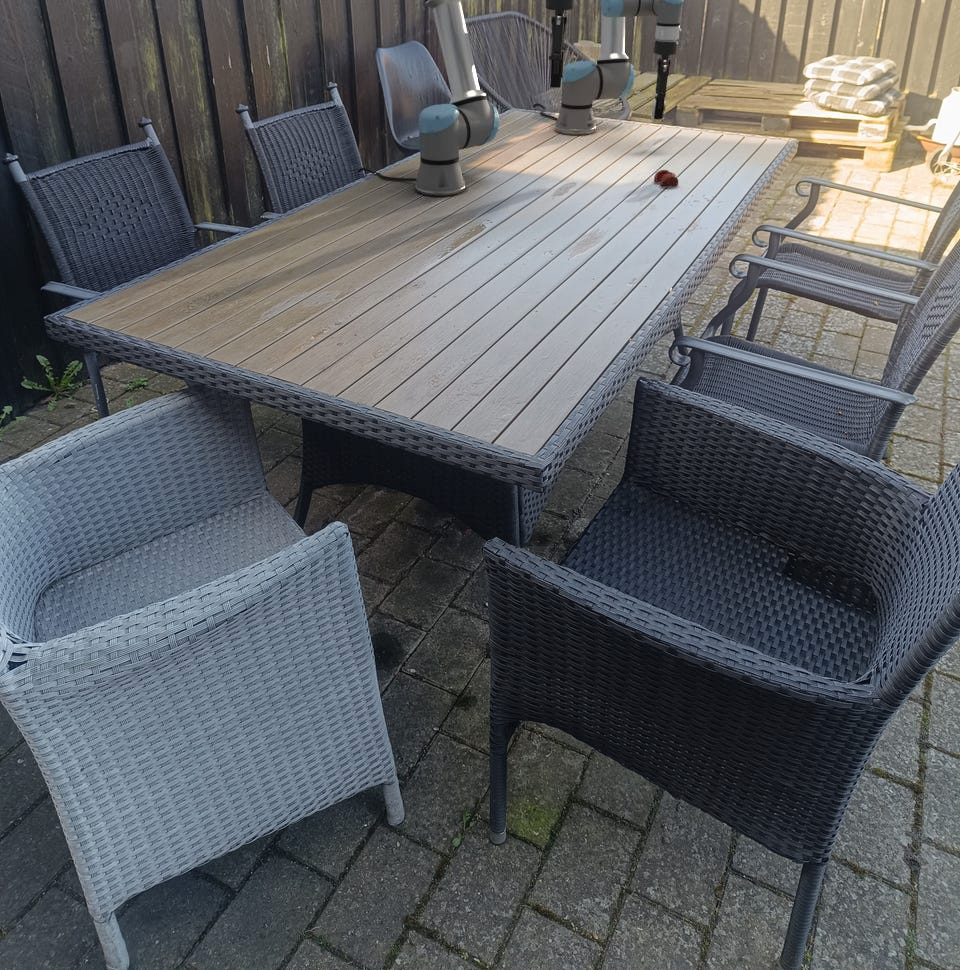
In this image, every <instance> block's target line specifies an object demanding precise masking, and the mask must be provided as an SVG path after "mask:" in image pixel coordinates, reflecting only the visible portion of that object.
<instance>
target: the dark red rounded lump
mask: <svg viewBox="0 0 960 970" xmlns="http://www.w3.org/2000/svg"><path fill="white" fill-rule="evenodd" d="M653 182H654V183H659V186H660V188H669V187H671V188H672V187H678V186H679V179H678V177H677V174H676V173H674V172H670V171H669V170H668V169H661V170H659V171H657V172H656V173H655V175H654V178H653Z"/></svg>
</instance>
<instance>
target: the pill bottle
mask: <svg viewBox="0 0 960 970" xmlns="http://www.w3.org/2000/svg"><path fill="white" fill-rule="evenodd" d="M655 96H657V94H656V93H655V94H654V100H653V101H652V107H651V116H650V118H651V120H654V121H663V120H665V115H666V114H665V113H666V107H667V102H666V100H664V109H663V117H662V119H654V114H655V105H656V98H655Z"/></svg>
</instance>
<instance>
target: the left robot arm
mask: <svg viewBox="0 0 960 970" xmlns="http://www.w3.org/2000/svg"><path fill="white" fill-rule="evenodd" d="M424 2H425V5H426V6H427V7H428V8H429V9H431V10H432V14H433V18H434V22H435V27H436V32H437V35H438V40H439V46H440V48H441V53H442V58H443V62H444V67H445V71H446V75H447V80H448V84H449V88H450V92H451V98H450V101H449V103H441V104H434V105H433V104H432V105H430V106H427V107H426V108H424V109H422V110H421V111H420V112H419V116H418V134H419V135H418V136H419V157H420V158H419V159H420V161H419V162H420V164H419V168H418V172H417V176H416V178H415V177H393V176H388V175H387V176H386V175H383V174H382V173H380V172H378V173H376V172H377V171H376V170H372V169H370V168H368V167H360V168H358V170H357V171H356V173H361V172H362V171H364V172H368V173H371V174H373V175H376V176H378V177H379V178H381V179H384V180H388V181H400V182H415V192H417V193H418V194H420V195H424V196H430V197H450V196H455V195H459V194H461V193H463V192H464V191H466V181H465V179H464V178H465V176H464V172H462V169H461V165H460V151H461V150H465V149H471V148H473V147H480V146H484V145H486V144H488V143H489V144H490V143H491V142H492V141H493V140H494V139H495V138H496V136H497V133H498V132H499V129H500V115H499V111H498V109H497V107H496V106H495V104H493V103H492V102H490V101H488V98H487V94H486V92H484V91H483V90H481V89H480V84H479V79H478V76H477V70H476V66H475V61H474V57H473V52H472V47H471V41H470V38H469V33H468V29H467V23H466V19H465V15H464V11H463V5H462V0H424ZM575 7H576V0H545V9H546V10H550V11H554V16H552V17H551V36H552V43H551V45H552V46H551V54H550V55H549V56H548V61H550V78H549V79H550V81H549V88H556V89H558V88H559V89H560V88H562V78H563V70H564V60H565V58H564V57H565V51H567V46H566V45H565V35H566V32H567V25H568V16H566V14H567V11H571V10H574V9H575ZM374 173H376V174H374Z"/></svg>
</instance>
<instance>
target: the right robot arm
mask: <svg viewBox="0 0 960 970" xmlns="http://www.w3.org/2000/svg"><path fill="white" fill-rule="evenodd" d="M684 1H685V0H600V10H601V12H600V13H601V14H600V21H601V22H600V24H601V25H600V56H599V57H598V58H597V59H596V62H595V61H594V60H578V61H574V62H571V63H568V64H566V65H565V66H564V67H563V78H561V100H560V101H561V104H560V105H561V106H560V111H559V113H558V116H557V117H556V116H553V115H549V114H547V113H545V112H546V111H547V107H545V105H543V104H541V103H537V102H536V103H534V104H533V106H532V108H536V107H540V108H542V110H540V115H541V116H542V117H545V118H548V119H551V120H553V121H556V122H555V126H554V131H555V132H556V133H559V134H562V135H569V136H585V135H590V134H594V133H595V132H596V127H597V125H596V124H597V122H598V120H597V119H595V116H594V112H593V102H594V101H598V100H617V99H622V98H626V97H627V96H628V95H629V94H630V93H631V91H632V89H633V87H634V86H633V85H634V83H635V76H636V74H635V67H634V65H633V64H632V63H630V62H629V60H630V58H629V56H628V55H627V54H626V53H625V49H626V48H625V47H626V18H630V17H657V18H656V25H655V32H654V39H655V41H654V43H653V45H654V46H653V53H654V54H655V55H657V56H660V58H658V59H657V70H656V73H657V75H656V83H655V84H656V85H655V94H657V96H655V95H654V99H655V98H656V105H655V114H654V119H662V117H663V109H664V101H666V96H667V88H668V87H667V86H668V79H669V74H670V67H671V63H672V61H671V59H670V56H674V55H676V54H677V52H678V48H679V47H678V46H679V42H678V40H679V37H680V33H682V28H681V23H682V14H683V8H684Z"/></svg>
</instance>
